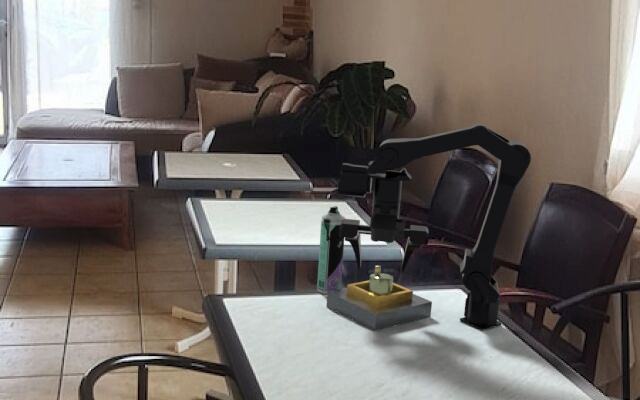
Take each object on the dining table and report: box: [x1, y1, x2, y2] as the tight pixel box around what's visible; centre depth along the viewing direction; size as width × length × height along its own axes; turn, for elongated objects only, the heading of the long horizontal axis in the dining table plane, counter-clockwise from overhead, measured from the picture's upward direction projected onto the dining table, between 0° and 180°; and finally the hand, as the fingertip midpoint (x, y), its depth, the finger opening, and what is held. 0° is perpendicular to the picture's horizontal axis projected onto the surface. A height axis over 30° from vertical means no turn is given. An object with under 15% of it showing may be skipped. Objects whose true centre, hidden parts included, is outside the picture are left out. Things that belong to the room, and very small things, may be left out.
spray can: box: [316, 206, 346, 295], centre depth 185 cm, size 6×6×20 cm
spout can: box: [369, 265, 394, 296], centre depth 175 cm, size 5×5×10 cm
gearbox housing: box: [326, 279, 433, 331], centre depth 176 cm, size 18×16×6 cm
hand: (380, 270), depth 174 cm, fingers open, 9 cm apart
